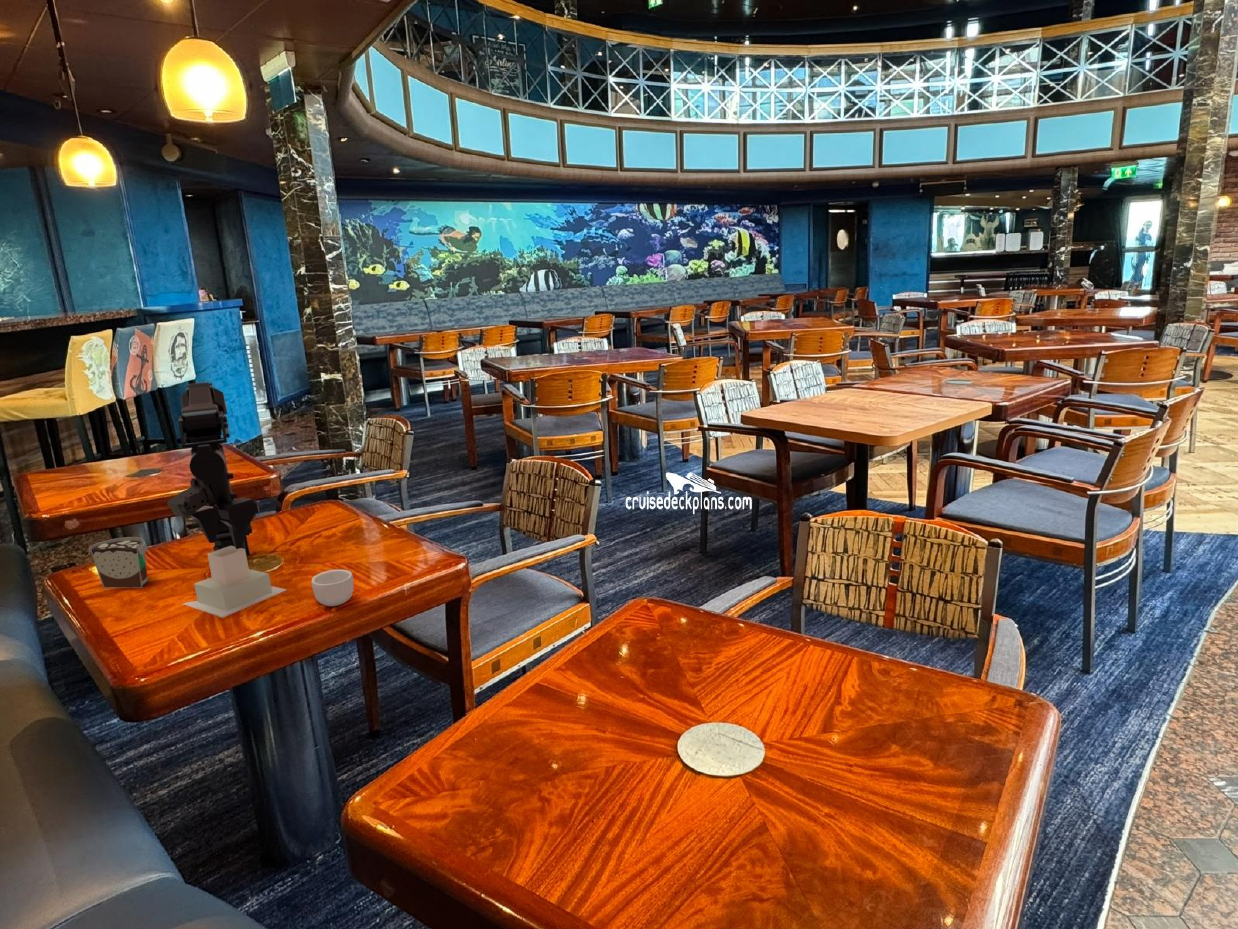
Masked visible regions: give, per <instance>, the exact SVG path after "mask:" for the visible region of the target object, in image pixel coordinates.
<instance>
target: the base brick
mask: <svg viewBox="0 0 1238 929" xmlns="http://www.w3.org/2000/svg"><path fill="white" fill-rule="evenodd" d="M249 573H250V577H247V578H245V579H242V580H239V581H237V582H234V583H231V584H229V585H224V584H221V583H217V582H213V580H212V576H211V577H208V578H205V579H203V580H200V581H198V582H195V583H193V585H194V589H195V590H194V591H195V595H196V601H198V602H200V603H203V604H206V605H210V606H213V607H216V608H219V609H223V610H226V611H227V610H229V609H231V608H234V607H236V606H239V605H241V604H244V603H246V602H248V601H251V600H253V599H256V598H258V597H261V596H263V595H265V594H268V593H270V592H272V589H271V587H272V583H271V579H270V578H271V577H270V574H269V573H266V572H263V571H259V570H255V569H251V568H249Z"/></svg>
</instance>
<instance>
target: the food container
mask: <svg viewBox="0 0 1238 929" xmlns="http://www.w3.org/2000/svg"><path fill="white" fill-rule="evenodd" d="M148 549H149V548H148V546H147V544H146V541H145V540H144V539H143V538H142V537H138V536H137V537H135V536H126V537H118V538H117V537H116V538H111V539H108V540H107V539H106V540H103V541H100V542H97V543H94V544H91V545H89V547H88V555H89V556H92V560H93V562H94V565H95V567H96V571H97V574H98V576H99V579H100V582H101V585H102V588H106V589H107V588H108V589H111V588H112V589H113V588H115V589H116V588H117V589H121V588H125V589H126V588H128V589H129V588H130V587H131V588H130V589H132V588H135V589H140V588H141V589H142V588H144V587H145V585H146V586H147V585H148V584H149V579H148V571H147V560H146V552H147V551H148Z"/></svg>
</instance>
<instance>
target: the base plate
mask: <svg viewBox="0 0 1238 929" xmlns="http://www.w3.org/2000/svg"><path fill="white" fill-rule="evenodd" d="M271 589H272V592H270V593H268V594H265V595H263V596H261V597H258V598H256V599H253V600H251V601H248V602H246V603H244V604H241V605H239V606H236V607H234V608H231V609H229V610H227V611H226V610H223V609H219V608H216V607H213V606H210V605H206V604H203V603H200V602H198V600H193V601H189V602H184V603H183V605H185V606H187V607H189V608H193V609H196V610H199V611H202V612H204V613H208V614H210V615H213V616H215V617H219V618H222V619H224V618H225V617H228V616H230V615H233V614H236V613H237V612H240V611H242V610H244V609H247V608H249V607H250V606H253V605H256V604H259V603H260V602H262V601H265V600H267V599H270V598H272V597H274V596H276V595H279V594H282V593H284V592H286V591H287V589H286V588H282V587H277V586H273V585H272V586H271Z"/></svg>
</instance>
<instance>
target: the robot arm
mask: <svg viewBox="0 0 1238 929" xmlns="http://www.w3.org/2000/svg"><path fill="white" fill-rule="evenodd" d="M185 387H186V391H185V392H184V393H183V394H182V395H180V400H181V406H182V408H181V411H180V413H181V415H179V416H177V419H178V428H179V435H180V436H179V437H180V442H181V443H180V444H181V448H182V449H188V448H191V449H189V450H190V456H191V457H190V461H189V470H190V473H191V474H192V475H193V477H191V480H190V481H189V482H190V487H189V488H187V489H184V490H182V491H181V492H180V493H178V494H176V495H175V496H173V497H172V498H170V499H169V500H167V505H168V506H169V508H170V510H171V511H172V512H173V515H174V516H175V517H182V518H183V519H186V518H189V517H190V518H192V519H194V520H195V521H196V523H197V524H198V526H199V528H200V529H201V531H202V533H203V534H204V536H205V538H206V540H207V541H208V543H209V544H213V546H212V548H213V552H214V551H216V550H219V549H222V548H225V547H228V546H234V547H235V548H236V549H239V548H243V549H245V552H246V557H247V556H250V555H251V554H250V548H249V541H248V536H250V534H253V528H252V520H253V518H254V517H256V515H257V514H258V513H259V512H260V506H259V502H258V501H256V500H255V499H253V498H248V497H240V498H238V494H237V492H232V486H231V481H230V480H233V479H235V478H234V474H233V473H232V472H229V471H228V470H229V469H228V464H227V460H226V454H225V450H224V445H223V444H227V443H228V438H231V435H230V430H229V421H228V417H227V416H226V415H228V409H227V404H226V398H225V395H224V394H225V393H224V392H223V391H221V390H219V389H218V388H215V387H214V385H213V383H212V382H208V381H206V382H205V381H203V382H195V383H189V384H186V385H185Z"/></svg>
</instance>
